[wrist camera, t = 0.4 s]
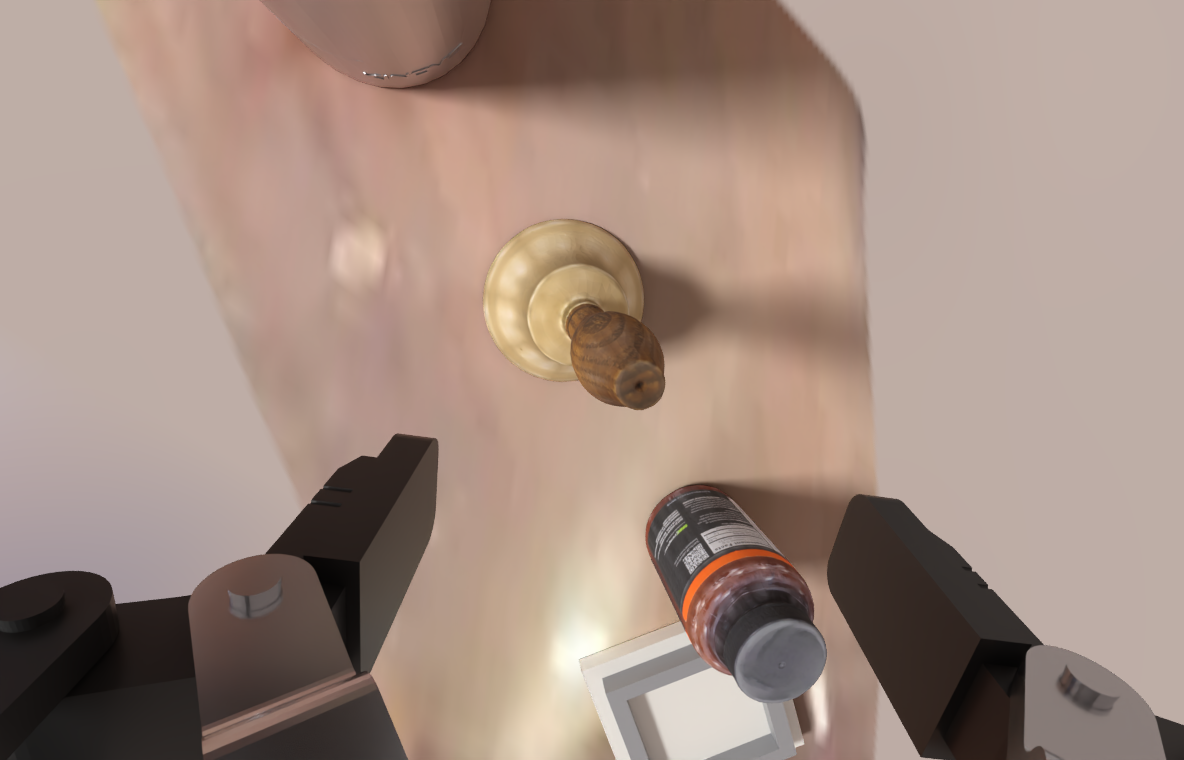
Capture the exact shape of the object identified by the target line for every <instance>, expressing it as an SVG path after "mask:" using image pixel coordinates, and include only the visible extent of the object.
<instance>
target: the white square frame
mask: <svg viewBox="0 0 1184 760" xmlns="http://www.w3.org/2000/svg"><path fill="white" fill-rule="evenodd" d="M579 661H580V667H581V672H582V674H583V677H584V680H585V682H586V685H587V687H588V690H589V692H590V695H591V697H592V700H593V702H594V705H595V707H596V710H597V712H598V715H599V717H600V720H601V722H602V725H603V728H604V730H605V733H606V735H607V738H608V740H609V743H610V745H611V748H612V750H613V753H614V755H615V758H616V760H785V759H787V758H790V757H792V756H795V755H797V753H796V750H795V748H796V747H798V746H801V745H803V744H804V740H803V736H802V733H801V729H800V725H799V721H798V717H797V713H796V710H795V706H794V702H793V699H791V700H789V701H785V702H781V703H763V702H758V701H756V700H753V699H751V698H749V697H748V696H747V695H746V694H745V693H744V692H742V691H741V689H740V688H739V687H738V685H737V683H736V681H735V679H734V677H733V676H730V675H727V674H724V673H721V672H719V671H717V670H715V669H714V668H712V667H711V666H710V665H708V664H707V663H706V662H705V661H704V660H703V659H702V658H701V657H700V656H699V654H698V653H697V652H696V650H695V649H694V647H693V645H692V643H691V641H690V639H689V637H688V635H687V633H686V632H685V630H684V628H683V625H682V623H681V621H679V622H676V623H674V624H671V625H669V626H666V627H663V628H661V629H658V630H655V631H653V632H650V633H648V634H645V635H642V636H640V637H637V638H634V639H632V640H629V641H627V642H624V643H621V644H619V645H616V646H613V647H611V648H608V649H606V650H603V651H600V652H598V653H595V654H592V655H590V656H587V657H585V658H582V659H579Z"/></svg>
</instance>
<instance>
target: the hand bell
mask: <svg viewBox="0 0 1184 760" xmlns="http://www.w3.org/2000/svg"><path fill="white" fill-rule="evenodd" d="M483 309H484V316H485V320H486V324H487V327H488V330H489V333H490V335H491V337H492V339H493V341H494V342H495V344H496V346H497V347H498V348H499V350H500V351H501V352H502V354H503V355H504V356H505V357H506V358H507V359H508V360H509V361H510V362H511V363H513V364H514V365H515V366H516V367H518V368H519V369H521V370H522V371H524V372H526V373H528V374H530V375H533V376H535V377H538V378H541V379H545V380H550V381H558V382H567V381H576V380H579V381H580V382H581V384H582V386H583V387H584V388H585V389H586V390H587V391H588V392H589V393H590V394H591V395H592V396H594V397H595V398H597V399H598V400H600V401H602V402H604V403H606V404H610V405H614V406H621V407H628V408H631V409H634V410H644V409H647V408H649V407H651V406H653V405H655V404H656V403H657V402H658V401H659V400H660V399H661V397H662V395H663V392H664V389H665V377H664V356H663V352H662V349H661V347H660V344H659V342H658V341H657V339H656V337H655V336H654V334H653V333H652V332H651V331H650V330H649V329H648V328H647V327H646V326H645V325H644V324H642V323H641V320H642V315H643V310H644V291H643V284H642V280H641V276H640V273H639V270H638V268H637V266H636V264H635V262H634V260H633V258H632V257H631V255H630V254H629V252H628V251H627V249H626V248H625V247H624V246H623V245H622V244H621V243H620V242H619V241H618V240H617V239H616V238H615V237H614V236H612V235H611V234H609V233H608V232H607V231H605V230H603V229H602V228H600V227H598V226H595V225H592V224H590V223H587V222H583V221H578V220H571V219H557V220H549V221H545V222H541V223H538V224H535V225H533V226H530V227H528V228H527V229H525V230H523V231H521V232H520V233H519V234H517V235H516V236H515V237H513V238H512V239H511V240H510V241H509V242H508V243H507V244H506V245H505V246H504V247H503V248H502V249H501V251H500V252H499V253H498V254H497V256H496V258H495V260H494V261H493V263H492V265H491V267H490V269H489V272H488V274H487V278H486V281H485V286H484V294H483Z"/></svg>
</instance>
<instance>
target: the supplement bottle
mask: <svg viewBox="0 0 1184 760" xmlns="http://www.w3.org/2000/svg"><path fill="white" fill-rule="evenodd" d="M646 545H647V549H648V552H649V555H650V557H651V560H652V562H653V564H654V566H655V569H656V570H657V573H658V575H659V577H660V579H661V581H662V583H663V585H664V587H665V589H666V591H667V594H668V596H669V598H670V600H671V602H672V604H673V606H674V608H675V610H676V612H677V615H678V617H679V619H680V621H681V623H682V625H683V628H684V630H685V632H686V633H687V635H688V637H689V639H690V641H691V643H692V645H693V647H694V649H695V650H696V652H697V653H698V654H699V656H700V657H701V658H702V659H703V660H704V661H705V662H706V663H707V664H708V665H710V666H711V667H712V668H714V669H715V670H717V671H719V672H721V673H724V674H727V675H730V676H733V677H734V679H735V681H736V683H737V685H738V687H739V688H740V689H741V691H742V692H744V693H745V694H746V695H747V696H748V697H749V698H751V699H753V700H756V701H758V702H763V703H781V702H785V701H789V700H791V699H795V698H797V697H799V696H800V695H802V694H803V693H804V692H806V691H807V690H808V689H810V687H811V686H812V685H814V683H815V682H816V681H817V680H818V678H819V677H820V675H821V673H822V671H823V669H824V666H825V662H826V657H827V649H826V644H825V641H824V638H823V636H822V635H821V633H820V632H819V630H818V629H817V628H816V627H815V625H814V624H813V619H814V604H813V599H812V596H811V592H810V590H809V588H808V586H807V584H806V582H805V581H804V579H803V578H802V577H801V575H800V574H799V573H798V572H797V571H796V569H795V568H794V567H793V566H792V565H791V564H790V562H789V561H788V560H787V559H786V557H785V556H784V555H783V554H782V553H781V552H780V551H779V550H778V549H777V548H776V547H775V545H774V544H773V543H772V542H771V541H770V540H769V539H768V538H767V537H766V536H765V534H764V533H763V532H762V531H761V530H760V529H759V528H758V527H757V525H756V524H755V522H754V521H752V520H751V519H750V518H749V516H748V515H747V514H746V513H745V512H744V511H743V510H742V509H741V508H740V507H739V506H738V505H737V504H736V503H735V502H734V501H733V500H732V499H731V498H730V497H729V496H728V495H727V494H726V493H724V492H722V491H721V490H719V489H717V488H714V487H711V486H705V485H692V486H687V487H683V488H680V489H678V490H675V491H674V492H672V493H670V494H669V495H667V496H666V497H665V498H663V499H662V500H661V501H660V502H659V503H658V504H657V506H656V507H655V508H654V510H653V512H652V513H651V515H650V517H649V520H648V523H647V527H646Z"/></svg>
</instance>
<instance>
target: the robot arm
mask: <svg viewBox="0 0 1184 760" xmlns="http://www.w3.org/2000/svg"><path fill="white" fill-rule="evenodd" d="M260 1H261V2H262V3H263V4H264V5H265V6H266V7H267V8H268V9H269V10H270V11H271V12H272V13H273V14H274V15H275V16H276V17H277V18H278V19H279V20H280V21H281V22H282V23H283V24H284V25H285V26H286V27H287V28H288V29H289V30H290V31H291V32H292V33H293V34H294V35H295V36H297V37H298V38H299V39H300V40H301V41H302V42H303V43H304V44H305V45H306V46H307V47H308V48H309V49H310V50H311V51H312V52H313V53H314V54H315V55H317V56H318V57H319V58H321V59H322V60H323V61H324V62H326V63H327V64H328V65H330V66H331V67H332V68H334V69H335V70H337V71H339V72H341V73H343V74H345V75H347V76H349V77H351V78H353V79H355V80H357V81H360V82H364V83H368V84H371V85H375V86H379V87H394V88H405V87H410V86H416V85H421V84H425V83H428V82H430V81H432V80H434V79H437V78H439V77H441V76H443V75H445V74H446V73H447V72H449V71H450V70H451V69H453V68H454V67H455V66H457V65H458V64H459V63H461V61H462V60H463V59H464V58H465V57H466V55H467V54H468V53H469V52H470V50H471V49H472V48H473V47H474V45H475V44H476V42H477V40H478V38H479V36H480V34H481V32H482V30H483V28H484V26H485V22H486V18H487V15H488V11H489V7H490V3H491V0H260ZM437 471H438V441H437V439H436V438H428V437H421V436H413V435H405V434H395V435H394V436H393V437H392V439H391V440H390V441H389V443H388V444H387V445H386V446H385V448H384V449H383V450H382V452H381V453H380V454H379V456H378V457H377V458H376V457H368V456H361V457H359V458H357V459H355V460H353V461H351V462H350V463H348V464H346V465H344V466H342V467H340V468H338V469H337V471H336V472H335V473H334V474H333V475H332V476H331V478H330V479H329V480H328V481H327V482H326V484H325V485H324V487H323V489H320V491H319V492H318V493H317V494H316V495H315V496H314V498H313V499H312V500H311V504H308V505H307V506H306V507H305V508H304V509H303V510H302V512H301V513H300V514H299V515H298V516H297V517H296V519H295V520H294V521H293V522H292V523H291V525H290V526H289V527H288V528H287V529H286V530H285V531H284V533H283V534H282V535H281V536H280V537H279V539H278V540H277V541H276V542H275V543H274V544H273V545H272V547H271V548H270V549H269V550H268V551H267V552H266V554H265V555H257V556H252V557H247V558H244V559H241V560H237V561H235V562H232V563H230V564H228V565H225V566H224V567H222V568H220V569H218V570H216V571H215V572H213V573H212V574H210V575H209V576H208V577H206V578H205V579H204V580H203V581H202V582H201V583H200V584H199V585H198V586H197V587H196V588H195V590H194V591H193V593H192V595H189V596H182V597H175V598H166V599H158V600H148V601H139V602H130V603H122V604H115V600H114V595H113V590H112V587H111V585H110V583H109V582H108V581H107V580H106V579H105V578H104V577H102V576H100V575H97V574H94V573H90V572H84V571H64V572H55V573H48V574H43V575H38V576H34V577H30V578H27V579H24V580H20V581H17V582H14V583H12V584H9V585H7V586H4V587H1V588H0V760H408V758H407V756H406V754H405V751H404V749H403V746H402V744H401V742H400V739H399V737H398V734H397V732H396V730H395V727H394V725H393V722H392V720H391V718H390V715H389V713H388V711H387V708H386V706H385V703H384V701H383V699H382V696H381V694H380V691H379V689H378V687H377V685H376V683H375V681H374V679H373V677H372V676H371V674H370V672H371V670H372V667H373V665H374V663H375V661H376V658H377V656H378V654H379V652H380V650H381V647H382V645H383V643H384V641H385V638H386V636H387V634H388V632H389V629H390V627H391V625H392V623H393V621H394V618H395V616H396V614H397V612H398V609H399V607H400V605H401V603H402V600H403V598H404V596H405V594H406V592H407V589H408V587H409V585H410V583H411V580H412V578H413V576H414V574H415V571H416V569H417V567H418V565H419V563H420V560H421V558H422V556H423V554H424V551H425V549H426V547H427V545H428V542H429V540H430V536H431V533H432V529H433V524H434V519H435V511H436V492H437ZM827 579H828V585H829V589H830V592H831V594H832V596H833V598H834V599H835V601H836V603H837V605H838V607H839V609H840V610H841V612H842V614H843V616H844V618H845V619H846V621H847V623H848V625H849V627H850V629H851V630H852V632H853V634H854V636H855V638H856V640H857V641H858V643H859V645H860V647H861V649H862V651H863V652H864V654H865V656H866V658H867V660H868V662H869V663H870V665H871V667H872V669H873V671H874V673H875V674H876V676H877V678H878V680H879V682H880V683H881V685H882V687H883V689H884V691H885V693H886V694H887V696H888V698H889V700H890V702H891V703H892V705H893V707H894V709H895V711H896V713H897V714H898V716H899V718H900V720H901V722H902V724H903V726H904V727H905V729H906V731H907V733H908V735H909V736H910V738H911V740H912V742H913V744H914V745H915V747H916V749H917V751H918V753H919V755H920V757H924V758H933V759H943V760H1184V725H1181V724H1178V723H1176V722H1173V721H1170V720H1167V719H1164V718H1160V717H1158V716H1155V715H1154V713H1153V712H1152V710H1151V708H1150V707H1149V705H1148V704H1147V703H1146V702H1145V701H1144V699H1143V698H1141V696H1140V695H1139V694H1138V693H1137V692H1136V691H1135V690H1134V689H1132V688H1131V687H1130V686H1129V685H1128V684H1127V683H1126V682H1124V681H1123V680H1122V679H1120V678H1119V677H1117V676H1116V675H1115V674H1113V673H1112V672H1110V671H1109V670H1107V669H1106V668H1104V667H1102V666H1101V665H1099V664H1097V663H1096V662H1094V661H1092V660H1090V659H1087V658H1086V657H1083V656H1081V655H1079V654H1077V653H1074V652H1071V651H1069V650H1066V649H1062V648H1058V647H1054V646H1047V645H1043V643H1042V642H1041V641H1040V640H1039V639H1038V638H1037V637H1036V636H1035V635H1034V634H1033V633H1032V632H1031V631H1030V630H1029V628H1028V627H1027V626H1026V625H1025V624H1024V623H1023V622H1022V621H1021V620H1020V619H1019V618H1018V617H1017V616H1016V615H1015V613H1014V612H1013V611H1012V610H1011V609H1010V608H1009V607H1008V606H1007V605H1006V604H1005V603H1004V602H1003V601H1002V599H1001V598H1000V597H999V596H998V595H997V594H996V593H995V592H994V591H993V590H992V589H988V584H986V582H984V580H983V579H982V578H981V577H980V576H979V575H978V574H977V573H976V572H972V568H971V566H970V565H969V564H968V563H967V562H966V561H965V560H964V559H963V558H962V557H961V555H960V554H959V553H958V552H957V551H956V550H955V549H954V548H953V547H952V546H950V545H949V544H947V543H946V542H945V541H943V540H942V539H940V538H939V537H937V536H936V535H935V534H933V533H932V532H930V531H929V530H928V529H927V528H926V527H925V526H924V525H923V524H922V523H921V522H920V520H919V519H918V518H917V517H916V516H915V515H914V514H913V513H912V512H911V510H910V509H909V508H908V507H907V506H906V505H905V504H904V503H903V502H902V501H900V500H898V499H893V498H885V497H877V496H870V495H862V494H858V495H856V496H854V497H853V498H852V499H851V501H850V502H849V505H848V507H847V510H846V513H845V516H844V518H843V521H842V524H841V527H840V530H839V532H838V535H837V538H836V541H835V544H834V546H833V549H832V552H831V555H830V558H829V561H828V568H827Z"/></svg>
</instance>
